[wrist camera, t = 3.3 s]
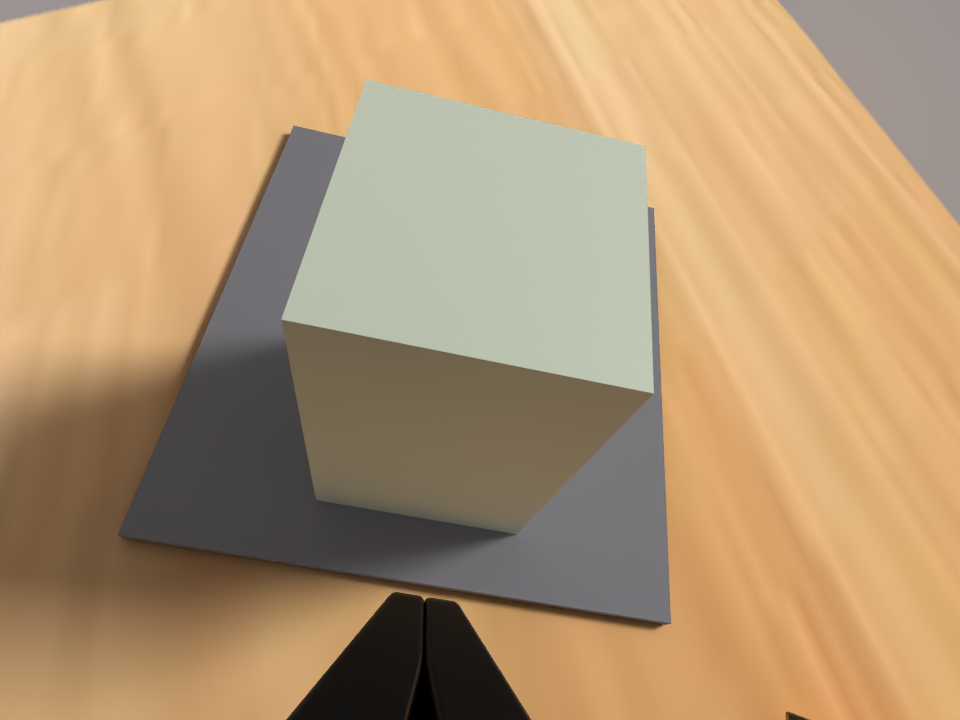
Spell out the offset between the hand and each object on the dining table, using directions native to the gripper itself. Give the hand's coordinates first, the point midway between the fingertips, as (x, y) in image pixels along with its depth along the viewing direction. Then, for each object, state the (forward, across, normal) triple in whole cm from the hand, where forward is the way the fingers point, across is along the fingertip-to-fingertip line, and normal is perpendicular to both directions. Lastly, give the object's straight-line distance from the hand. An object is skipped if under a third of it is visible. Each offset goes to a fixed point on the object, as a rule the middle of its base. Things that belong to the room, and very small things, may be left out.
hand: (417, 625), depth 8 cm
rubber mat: (+11, 0, -1) cm, 11 cm away
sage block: (+8, 0, 0) cm, 9 cm away
